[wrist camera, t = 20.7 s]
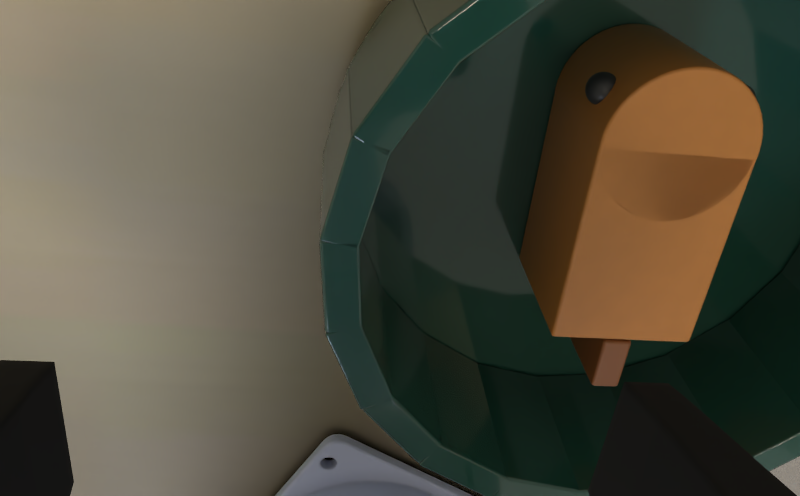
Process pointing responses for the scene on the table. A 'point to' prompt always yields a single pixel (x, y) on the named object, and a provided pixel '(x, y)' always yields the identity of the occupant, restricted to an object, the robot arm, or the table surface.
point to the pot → (504, 232)
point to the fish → (636, 192)
